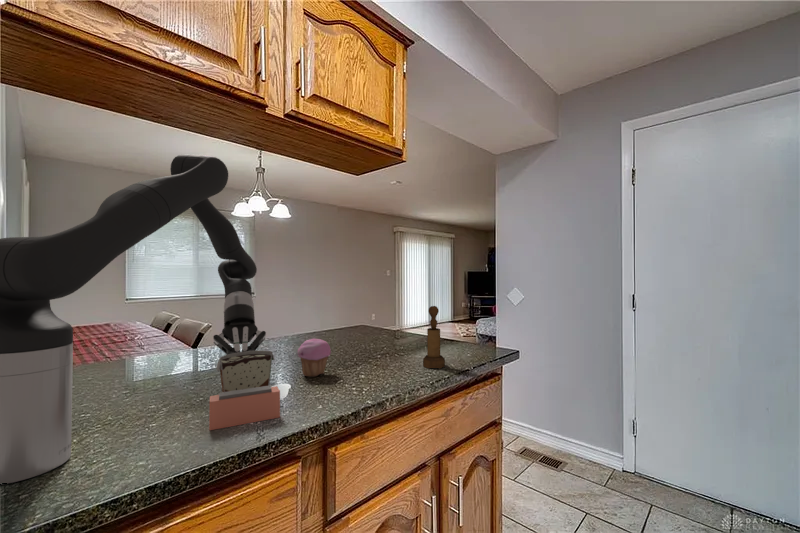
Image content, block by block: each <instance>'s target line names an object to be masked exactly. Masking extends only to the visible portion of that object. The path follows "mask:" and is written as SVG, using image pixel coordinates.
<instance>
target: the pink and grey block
mask: <svg viewBox="0 0 800 533" xmlns="http://www.w3.org/2000/svg"><path fill="white" fill-rule="evenodd" d="M208 411H209V414H208V415H209V416H208V417H209V422H208V424H209V425H208V426H209V427H208V428H209V429H208V430H209V431H213V430H220V429H225V428H230V427H235V426H241V425H245V424H251V423H256V422H261V421H268V420H274V419H278V418H281V391H280V389H279V387H278V385H276V386H271V385H270V384H269V386H262V387H255V388H249V389H242V390H235V391H228V392H222V391H221V392H218V394H216V395H209V410H208Z"/></svg>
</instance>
